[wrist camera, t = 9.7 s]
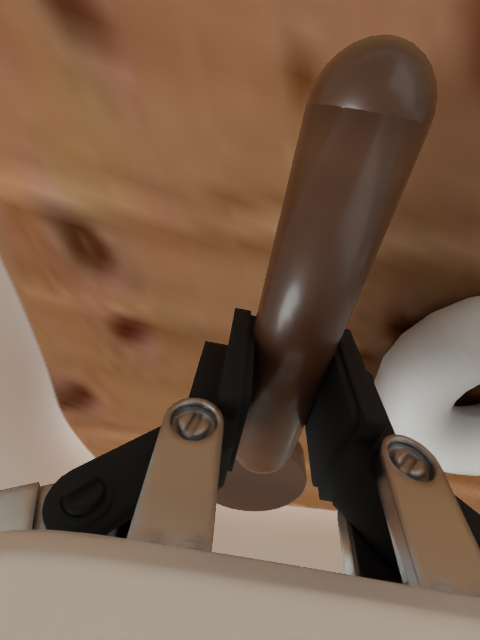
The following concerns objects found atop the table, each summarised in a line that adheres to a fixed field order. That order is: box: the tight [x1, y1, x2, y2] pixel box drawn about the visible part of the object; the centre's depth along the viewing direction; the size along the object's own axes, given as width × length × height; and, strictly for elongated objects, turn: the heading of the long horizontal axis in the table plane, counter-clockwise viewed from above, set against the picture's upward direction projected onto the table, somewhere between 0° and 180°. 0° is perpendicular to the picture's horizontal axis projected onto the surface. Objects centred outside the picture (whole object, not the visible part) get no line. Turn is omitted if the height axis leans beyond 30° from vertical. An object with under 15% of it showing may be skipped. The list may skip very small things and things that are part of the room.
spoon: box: [216, 35, 437, 511], centre depth 10 cm, size 16×5×2 cm, turn 170°
